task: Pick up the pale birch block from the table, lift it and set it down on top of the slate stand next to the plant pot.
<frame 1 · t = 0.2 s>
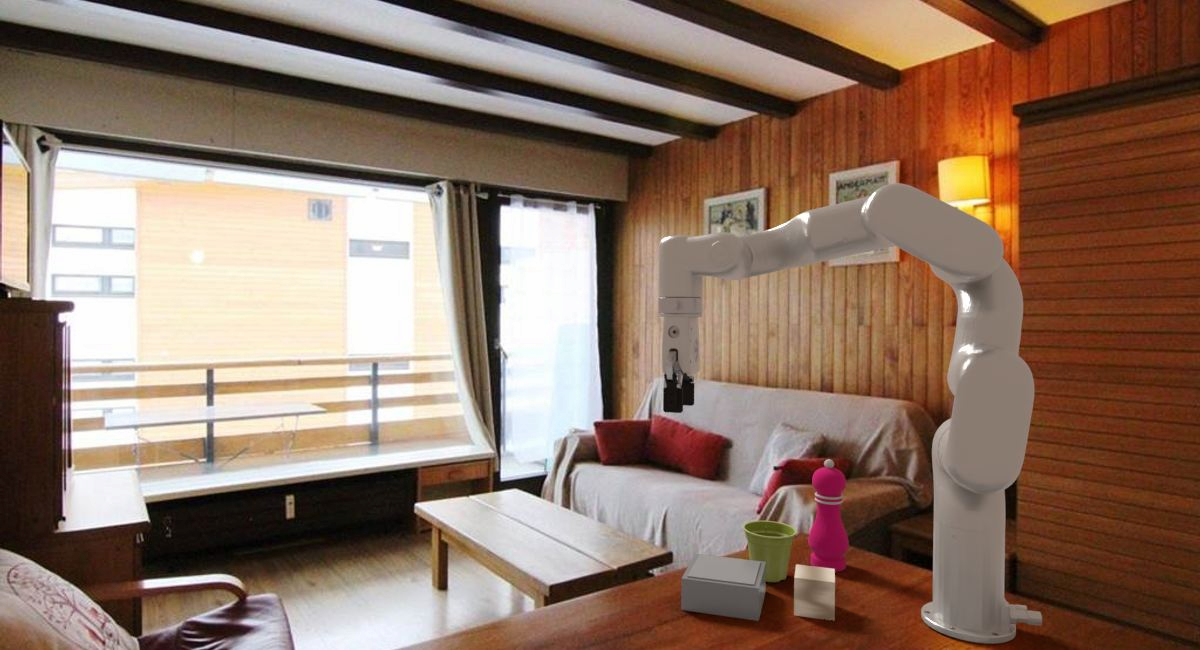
hand: (679, 408, 117), 31 cm above the table, tool pointing down, fingers open, 9 cm apart
birch block: (814, 610, 108), on the table
pepper mill: (828, 567, 128), on the table
plant pot: (769, 577, 122), on the table
slate stand: (724, 600, 112), on the table
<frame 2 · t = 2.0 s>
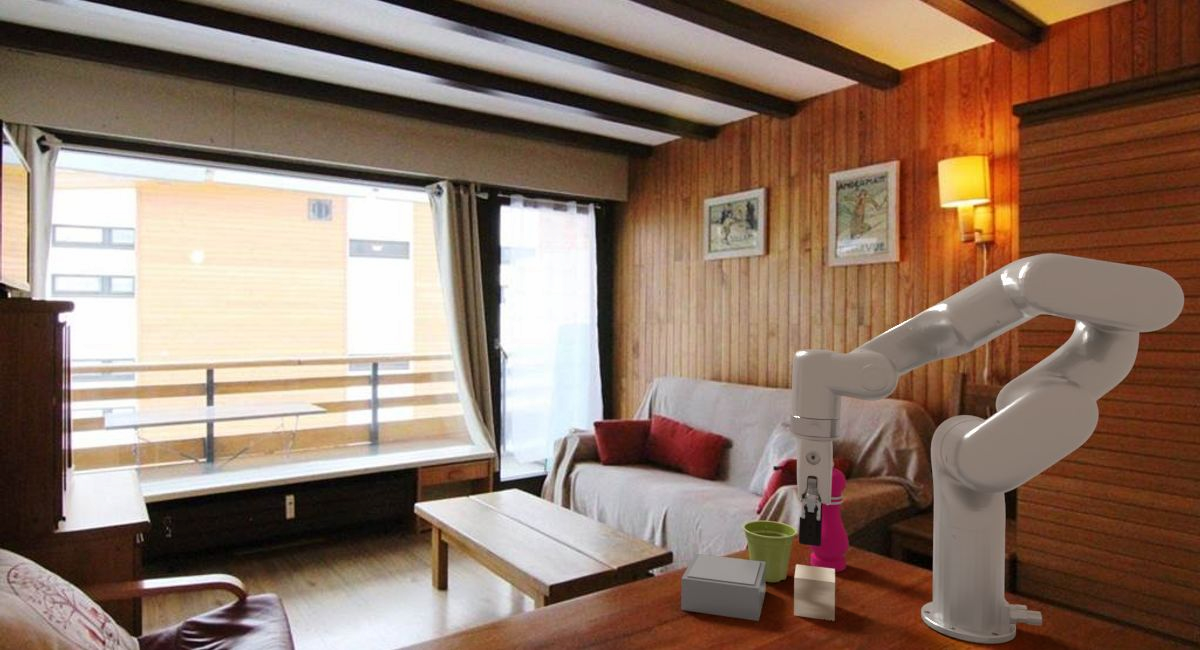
hand: (810, 534, 108), 12 cm above the table, tool pointing down, fingers open, 9 cm apart
nothing on the table moved.
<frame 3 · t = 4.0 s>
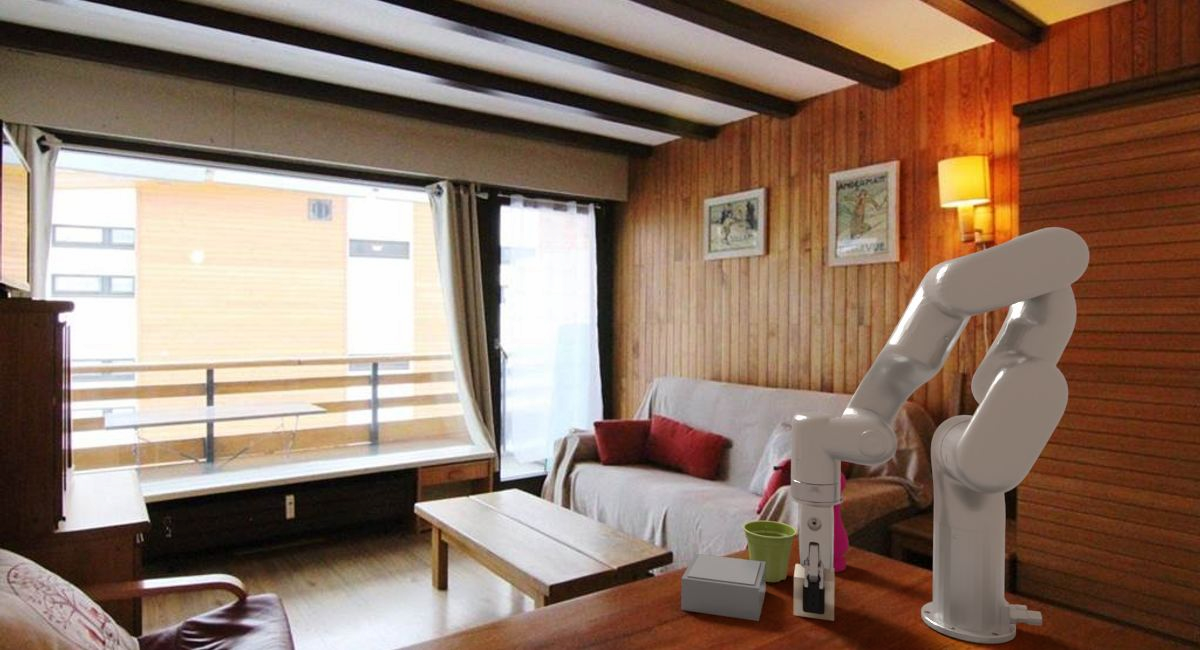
hand: (814, 602, 108), 1 cm above the table, tool pointing down, fingers closed on birch block, 6 cm apart
birch block: (814, 610, 108), on the table, touching gripper
everything else where it was.
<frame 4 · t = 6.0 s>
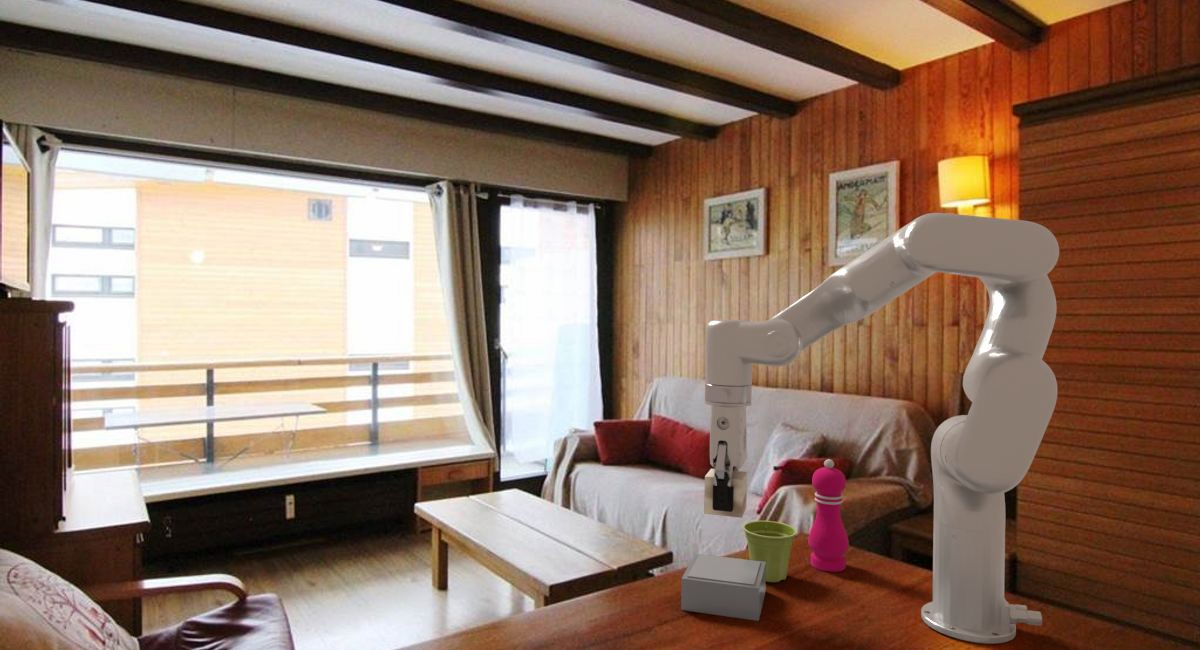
hand: (725, 504, 112), 16 cm above the table, tool pointing down, fingers closed on birch block, 6 cm apart
birch block: (725, 510, 112), point 15 cm above the table, touching gripper
everything else where it was.
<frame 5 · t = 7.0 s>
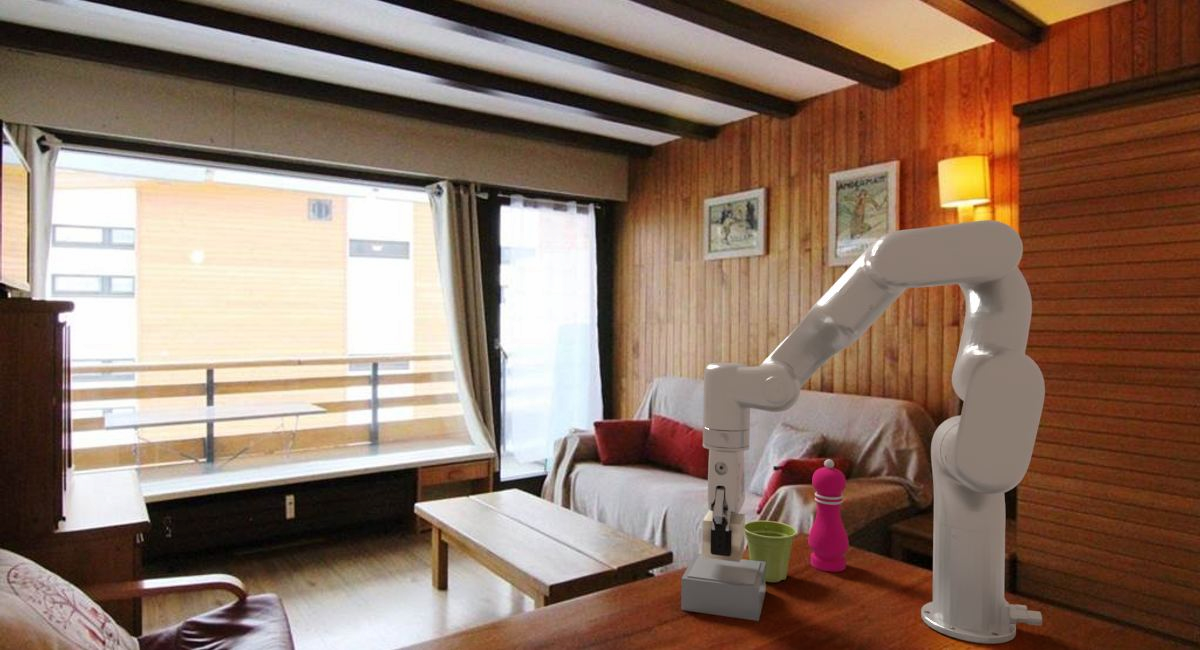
hand: (723, 547, 112), 9 cm above the table, tool pointing down, fingers closed on birch block, 6 cm apart
birch block: (723, 553, 112), point 8 cm above the table, touching gripper
everything else where it was.
when the fingers open (7 cm above the table, at t = 8.0 s): birch block drops 1 cm, resting on slate stand.
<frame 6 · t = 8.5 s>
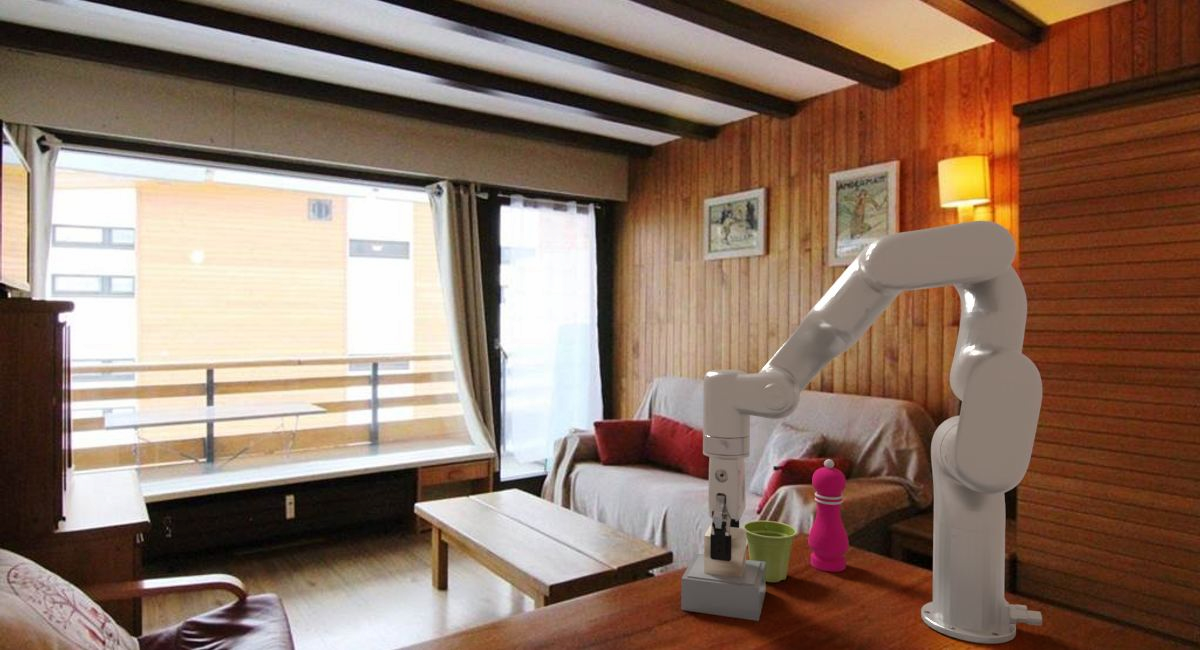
hand: (725, 549, 112), 8 cm above the table, tool pointing down, fingers open, 9 cm apart
birch block: (725, 568, 112), point 5 cm above the table, touching slate stand
everything else where it was.
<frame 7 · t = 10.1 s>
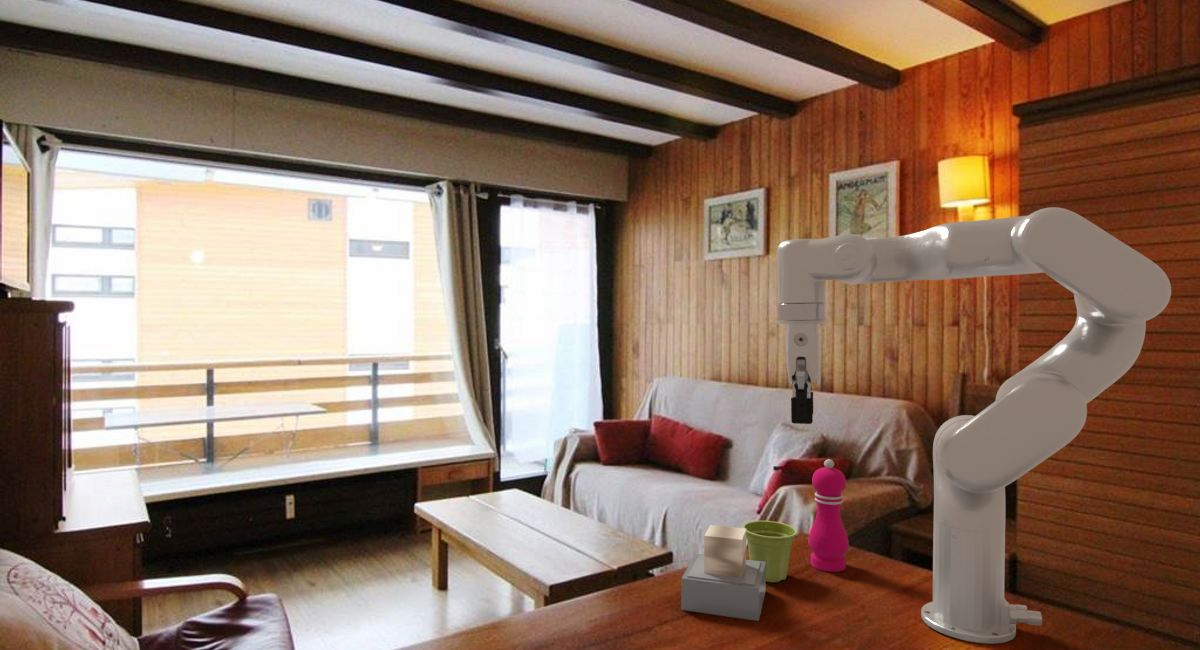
hand: (802, 419, 112), 30 cm above the table, tool pointing down, fingers open, 9 cm apart
nothing on the table moved.
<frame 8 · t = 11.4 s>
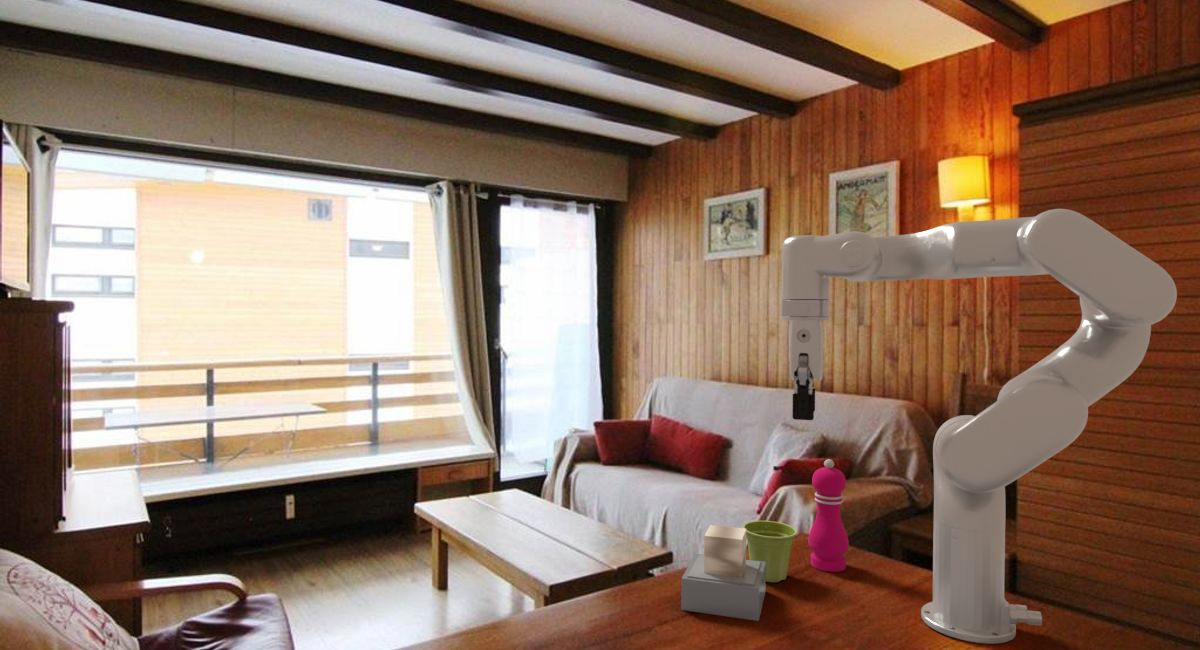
hand: (804, 415, 112), 30 cm above the table, tool pointing down, fingers open, 9 cm apart
nothing on the table moved.
at the end: birch block inside the target area on the slate stand (0.0 cm from its centre), point 5.2 cm above the slate stand's base; birch block tilted 0°; the gripper is holding nothing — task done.
